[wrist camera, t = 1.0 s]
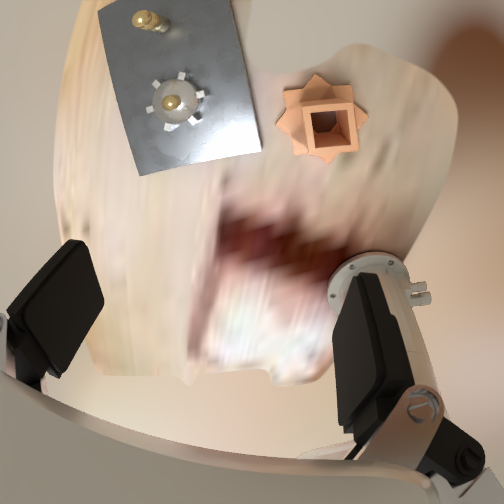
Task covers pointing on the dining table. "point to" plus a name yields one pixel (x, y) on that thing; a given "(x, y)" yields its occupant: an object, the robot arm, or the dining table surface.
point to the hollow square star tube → (319, 100)
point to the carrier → (179, 81)
